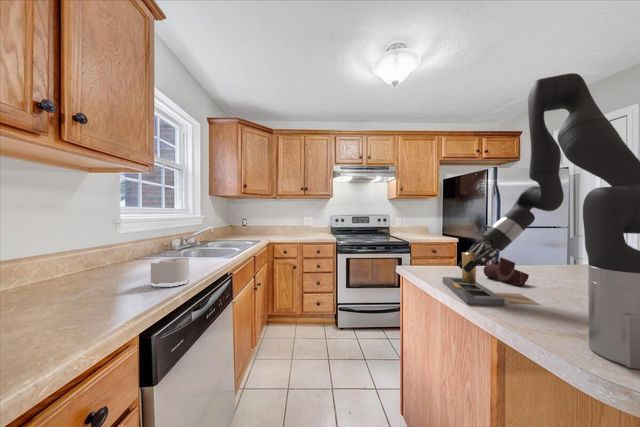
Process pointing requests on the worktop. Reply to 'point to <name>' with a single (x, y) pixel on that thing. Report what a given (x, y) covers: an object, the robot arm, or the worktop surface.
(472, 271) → the gold domed cylinder
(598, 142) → the robot arm
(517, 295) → the tan rectangular plate
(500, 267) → the bracket
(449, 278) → the grey flat frame
